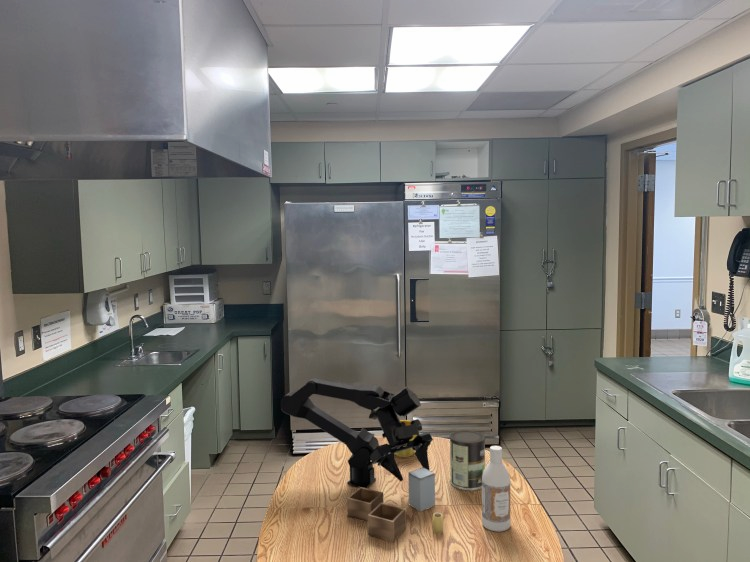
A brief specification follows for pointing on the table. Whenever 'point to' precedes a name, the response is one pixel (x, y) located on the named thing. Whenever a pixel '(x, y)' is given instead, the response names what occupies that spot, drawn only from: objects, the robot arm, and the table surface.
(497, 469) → the bath foam
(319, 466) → the table surface
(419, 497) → the pale grey square pillar
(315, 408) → the robot arm
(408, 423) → the plant pot
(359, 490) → the box
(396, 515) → the box
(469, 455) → the coffee can
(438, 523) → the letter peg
